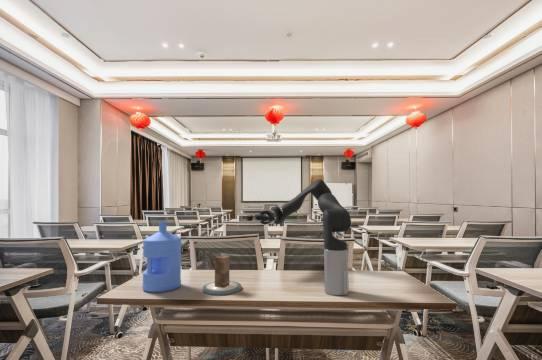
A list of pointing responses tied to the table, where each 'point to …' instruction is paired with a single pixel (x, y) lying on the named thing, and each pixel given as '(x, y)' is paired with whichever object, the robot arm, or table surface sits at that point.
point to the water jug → (162, 261)
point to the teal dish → (229, 289)
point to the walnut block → (221, 271)
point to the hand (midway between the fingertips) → (256, 218)
